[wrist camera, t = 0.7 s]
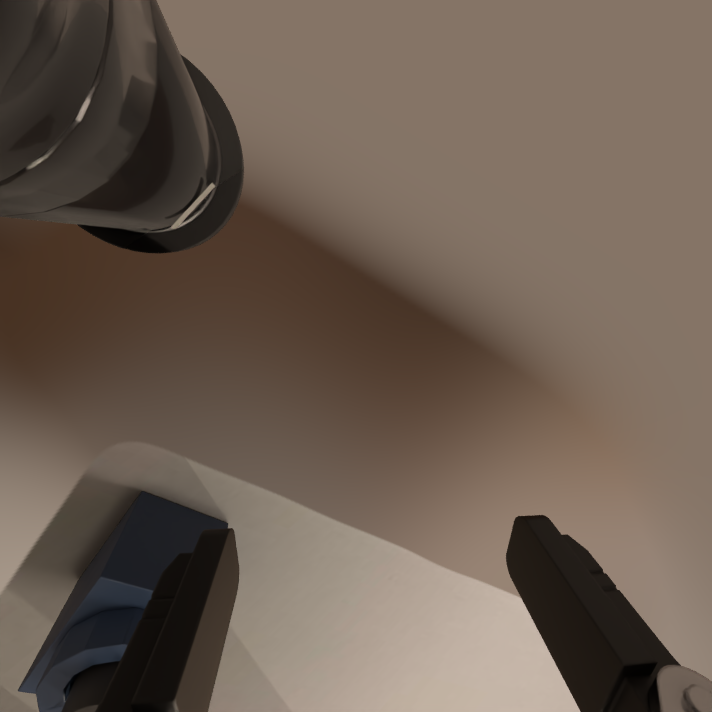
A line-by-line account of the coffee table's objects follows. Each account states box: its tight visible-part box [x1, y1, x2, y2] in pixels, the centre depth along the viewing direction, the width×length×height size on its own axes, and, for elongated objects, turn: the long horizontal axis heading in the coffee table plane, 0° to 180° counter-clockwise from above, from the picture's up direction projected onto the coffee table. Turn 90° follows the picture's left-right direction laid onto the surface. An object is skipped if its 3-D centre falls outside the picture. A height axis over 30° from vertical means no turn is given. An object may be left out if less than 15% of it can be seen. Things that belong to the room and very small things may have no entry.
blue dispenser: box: [18, 491, 228, 712], centre depth 23 cm, size 9×7×9 cm
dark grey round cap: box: [61, 661, 120, 712], centre depth 18 cm, size 3×3×2 cm
